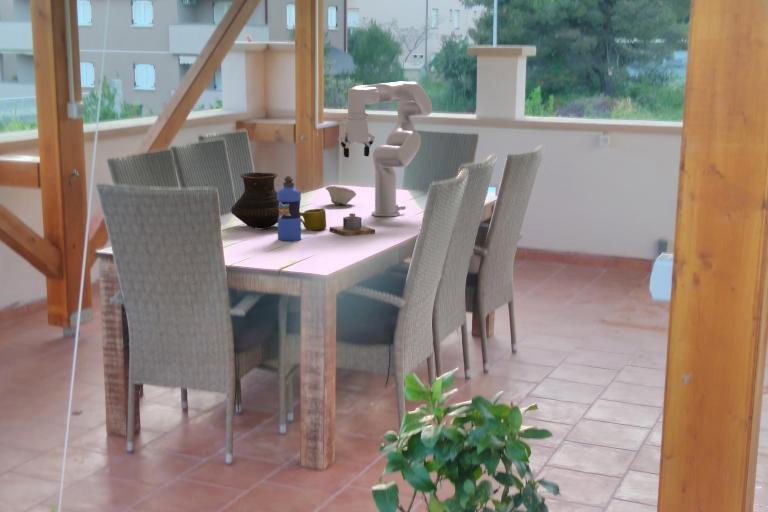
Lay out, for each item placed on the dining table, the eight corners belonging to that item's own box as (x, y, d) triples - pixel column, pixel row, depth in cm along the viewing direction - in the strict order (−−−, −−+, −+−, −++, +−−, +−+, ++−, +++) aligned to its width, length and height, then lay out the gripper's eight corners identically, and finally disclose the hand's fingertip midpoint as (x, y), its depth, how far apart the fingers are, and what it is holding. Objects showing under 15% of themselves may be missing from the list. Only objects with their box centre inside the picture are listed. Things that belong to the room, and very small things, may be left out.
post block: (359, 228, 439) (359, 210, 438) (375, 233, 427) (375, 215, 426) (329, 230, 432) (329, 212, 431) (344, 235, 420) (344, 217, 419)
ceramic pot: (219, 229, 435) (218, 175, 431) (254, 220, 456) (253, 169, 452) (267, 234, 424) (266, 179, 419) (301, 225, 445) (300, 173, 440)
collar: (356, 226, 434) (356, 215, 433) (363, 228, 428) (363, 218, 427) (341, 227, 431) (340, 217, 430) (348, 230, 425) (348, 219, 424)
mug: (333, 223, 439) (326, 202, 435) (325, 234, 431) (317, 213, 427) (308, 226, 444) (300, 206, 440) (299, 238, 436) (291, 216, 432)
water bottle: (291, 242, 406) (291, 178, 401) (272, 240, 411) (271, 176, 406) (305, 238, 414) (305, 176, 409) (287, 236, 418) (286, 174, 413)
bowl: (362, 204, 506) (362, 183, 504) (345, 208, 494) (345, 187, 492) (336, 201, 514) (336, 181, 512) (320, 205, 502) (319, 184, 500)
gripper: (370, 115, 455) (370, 155, 458) (334, 116, 446) (334, 156, 450) (378, 116, 448) (378, 156, 452) (342, 117, 440) (342, 158, 443)
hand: (356, 156), depth 451 cm, fingers open, 9 cm apart
